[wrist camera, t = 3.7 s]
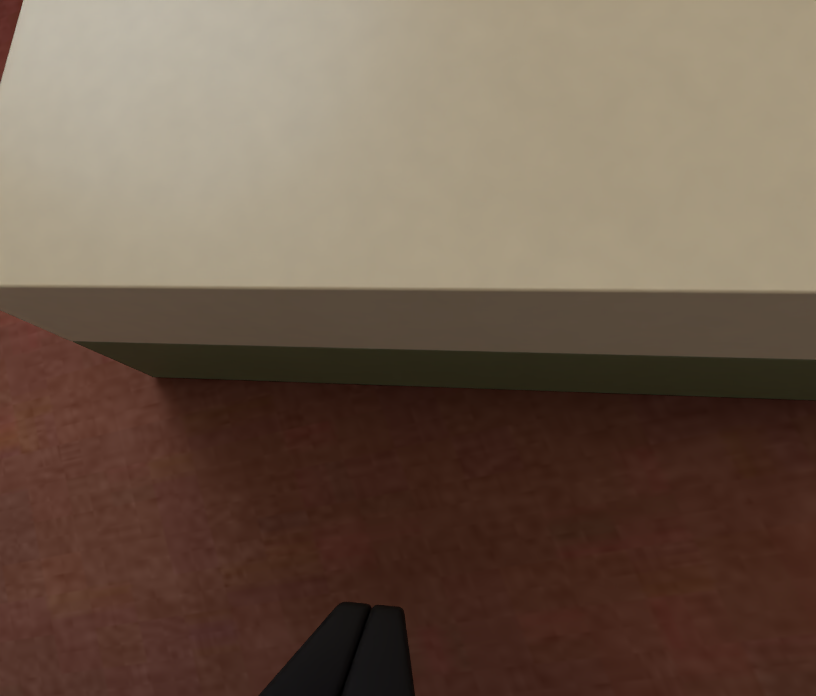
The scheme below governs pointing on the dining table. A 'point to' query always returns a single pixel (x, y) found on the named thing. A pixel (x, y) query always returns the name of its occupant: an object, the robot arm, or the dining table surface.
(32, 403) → the dining table surface
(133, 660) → the dining table surface
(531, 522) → the dining table surface
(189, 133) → the beige lidded box
